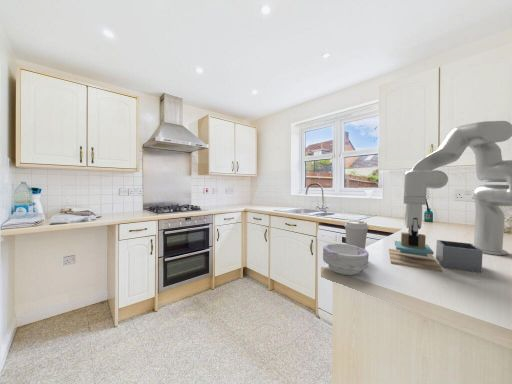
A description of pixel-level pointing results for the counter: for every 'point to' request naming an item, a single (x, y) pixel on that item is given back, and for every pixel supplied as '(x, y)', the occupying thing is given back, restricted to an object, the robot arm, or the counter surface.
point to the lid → (414, 250)
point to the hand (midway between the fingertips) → (412, 244)
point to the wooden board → (414, 260)
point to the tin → (459, 256)
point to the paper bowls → (345, 258)
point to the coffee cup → (356, 233)
